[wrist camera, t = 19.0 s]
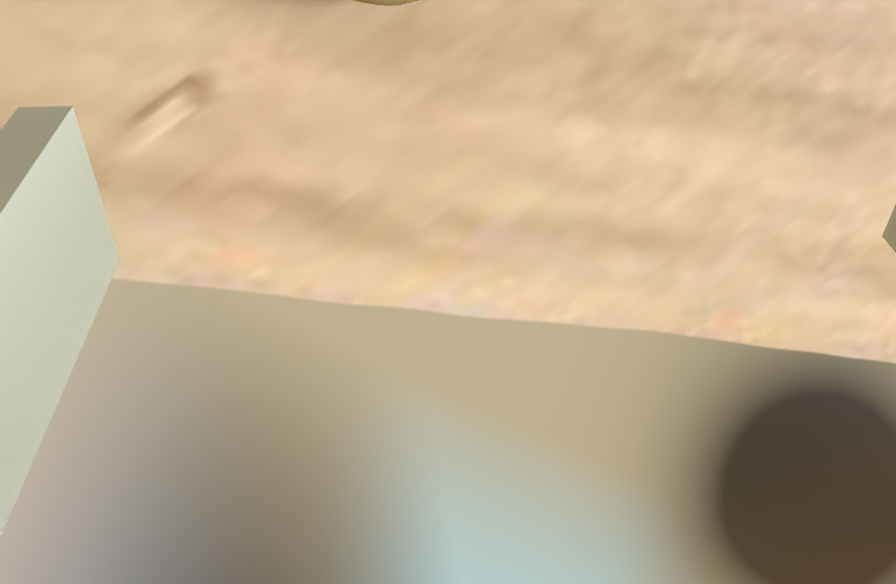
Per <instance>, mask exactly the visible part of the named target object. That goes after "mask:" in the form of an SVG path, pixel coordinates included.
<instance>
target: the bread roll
mask: <svg viewBox="0 0 896 584" xmlns="http://www.w3.org/2000/svg"><path fill="white" fill-rule="evenodd" d="M355 1H359V2H364V3H370V4H376V5H386V6H392V5H402V4H406V3H410V2H414V1H418V0H355Z"/></svg>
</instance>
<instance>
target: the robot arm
mask: <svg viewBox="0 0 896 584" xmlns="http://www.w3.org/2000/svg"><path fill="white" fill-rule="evenodd" d="M882 237H883V238H884V239H885V240H886V241H887V242H888V244H889V245H890V246H891V247H892V248H893V250H894V251H895V252H896V205H895V207H894V210H893V212H892V214H891V217H890V219H889V221H888V224H887V226H886V228H885V231H884V233H883V236H882ZM119 260H120V257H119V254H118V251H117V248H116V244H115V241H114V238H113V235H112V231H111V228H110V225H109V222H108V218H107V215H106V212H105V209H104V206H103V202H102V199H101V196H100V193H99V189H98V186H97V183H96V180H95V177H94V173H93V170H92V167H91V164H90V160H89V157H88V154H87V151H86V147H85V144H84V141H83V138H82V135H81V131H80V128H79V125H78V122H77V118H76V115H75V112H74V109H73V106H60V107H18V109H17V110H16V111H15V113H14V114H13V115H12V116H11V118H10V119H9V120H8V121H7V123H6V124H5V125H4V126H3V128H2V129H1V130H0V537H1V534H2V532H3V530H4V527H5V525H6V523H7V520H8V518H9V516H10V514H11V511H12V509H13V506H14V504H15V502H16V499H17V497H18V495H19V492H20V490H21V488H22V485H23V483H24V481H25V479H26V476H27V474H28V472H29V469H30V467H31V465H32V462H33V460H34V457H35V455H36V453H37V451H38V448H39V446H40V444H41V441H42V439H43V437H44V434H45V432H46V430H47V427H48V425H49V423H50V420H51V418H52V416H53V413H54V411H55V408H56V406H57V404H58V402H59V400H60V397H61V395H62V393H63V390H64V388H65V385H66V383H67V381H68V378H69V376H70V374H71V371H72V369H73V367H74V365H75V362H76V360H77V358H78V355H79V353H80V351H81V348H82V346H83V344H84V341H85V339H86V337H87V334H88V332H89V330H90V327H91V325H92V323H93V320H94V318H95V316H96V313H97V311H98V309H99V306H100V304H101V302H102V299H103V297H104V295H105V292H106V290H107V288H108V285H109V283H110V281H111V279H112V276H113V274H114V272H115V269H116V267H117V265H118V262H119Z"/></svg>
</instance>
